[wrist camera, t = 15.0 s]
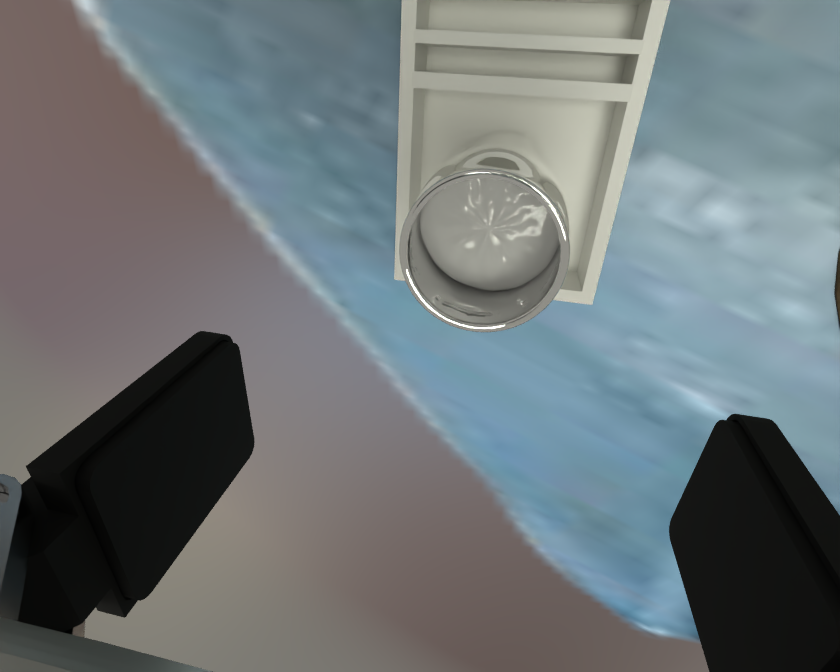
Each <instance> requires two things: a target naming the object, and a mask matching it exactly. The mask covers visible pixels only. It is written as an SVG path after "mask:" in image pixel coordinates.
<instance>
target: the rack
mask: <svg viewBox="0 0 840 672" xmlns="http://www.w3.org/2000/svg"><path fill="white" fill-rule="evenodd" d="M669 3H670V0H402V12H401V50H400V87H399V125H398V163H397V200H396V238H395V276H394V280H402V281H405V278H404V276H403V273H402V269H401V264H400V256H399V244H400V236H401V231H402V228H403V225H404V222H405V219H406V217H407V215H408V213H409V211H410V209H411V208H412V206H413V205H414V203H415V201H416V200H417V198H418V196H419V194H420V192H421V191H422V189H423V187H424V186H425V185H426V183H427V182H428V181H429V179H430V178H431V177H432V175H433V174H434V173H435V172H436V171H437V170H438V169H439V168H440V167H441V166H442V165H444V164H445V163H446V162H447V161H449V160H450V159H451V158H453V157H454V156H456V155H457V154H459V153H461V152H463V151H465V150H467V149H468V148H469V147H470V146H471V145H472V144H473V143H474V142H476V141H477V140H479V139H480V138H482V137H484V136H486V135H489V134H492V133H497V132H511V133H516V134H519V135H522V136H524V137H526V138H528V139H529V140H531V141H532V142H533V143H534V144H535V145H536V146H537V147H538V148H539V149H540V151H541V152H542V154H543V155H544V157H545V159H546V162H547V165H548V168H549V169H550V171H551V172H552V173H553V175H554V176H555V178H556V180H557V181H558V183H559V186H560V188H561V190H562V192H563V195H564V198H565V201H566V205H567V210H568V216H569V226H570V232H569V242H570V260H569V266H568V270H567V274H566V277H565V279H564V282H563V284H562V286H561V288H560V290H559V292H558V293H557V295H556V296H555V298H554V299H553V300H558V301H566V302H573V303H581V304H589V305H592V304H593V300H594V296H595V292H596V288H597V284H598V280H599V276H600V272H601V269H602V265H603V261H604V257H605V253H606V249H607V245H608V241H609V237H610V233H611V229H612V226H613V222H614V218H615V214H616V210H617V206H618V202H619V198H620V194H621V190H622V187H623V183H624V179H625V175H626V171H627V167H628V163H629V159H630V155H631V151H632V148H633V144H634V140H635V136H636V132H637V128H638V124H639V120H640V116H641V112H642V109H643V105H644V101H645V97H646V93H647V89H648V85H649V81H650V77H651V73H652V70H653V66H654V62H655V58H656V54H657V50H658V46H659V42H660V38H661V34H662V31H663V27H664V23H665V19H666V15H667V11H668V7H669Z"/></svg>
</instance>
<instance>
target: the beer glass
mask: <svg viewBox="0 0 840 672" xmlns="http://www.w3.org/2000/svg"><path fill="white" fill-rule="evenodd" d="M569 232H570V226H569V216H568V210H567V205H566V201H565V198H564V195H563V192H562V190H561V188H560V186H559V183H558V181H557V180H556V178H555V176H554V175H553V173H552V172H551V171H550V169H549V168H548V165H547V162H546V159H545V157H544V155H543V154H542V152H541V151H540V149H539V148H538V147H537V146H536V145H535V144H534V143H533V142H532V141H531V140H529V139H528V138H526V137H524V136H522V135H519V134H516V133H511V132H497V133H492V134H489V135H486V136H484V137H482V138H480V139H479V140H477V141H476V142H474V143H473V144H472V145H471V146H470V147H469V148H468V149H467V150H465V151H463V152H461V153H459V154H457V155H456V156H454V157H453V158H451V159H450V160H449V161H447V162H446V163H445V164H444V165H442V166H441V167H440V168H439V169H438V170H437V171H436V172H435V173H434V174H433V175H432V177H431V178H430V179H429V181H428V182H427V183H426V185H425V186H424V187H423V189H422V191H421V192H420V194H419V196H418V198H417V200H416V201H415V203H414V205H413V206H412V208H411V209H410V211H409V213H408V215H407V217H406V219H405V222H404V225H403V228H402V231H401V236H400V244H399V256H400V264H401V269H402V273H403V276H404V278H405V281H406V283H407V285H408V287H409V289H410V291H411V292H412V294H413V295H414V297H415V298H416V299H417V301H418V302H419V303H420V304H421V305H422V306H423V307H424V308H425V309H426V310H427V311H428V312H429V313H431V314H432V315H433V316H435V317H436V318H438V319H439V320H441V321H443V322H445V323H447V324H449V325H451V326H454V327H457V328H460V329H463V330H468V331H474V332H496V331H502V330H506V329H510V328H513V327H516V326H519V325H521V324H523V323H525V322H527V321H529V320H531V319H532V318H534V317H535V316H537V315H538V314H539V313H540V312H542V311H543V310H544V309H545V308H546V307H547V306H548V305H549V304H550V303H551V301H552V300H553V299H554V298H555V296H556V295H557V293H558V292H559V290H560V288H561V286H562V284H563V282H564V279H565V277H566V274H567V270H568V266H569V260H570V242H569Z"/></svg>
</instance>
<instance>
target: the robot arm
mask: <svg viewBox="0 0 840 672" xmlns="http://www.w3.org/2000/svg"><path fill="white" fill-rule="evenodd" d="M253 448H254V435H253V429H252V423H251V417H250V411H249V405H248V398H247V393H246V386H245V380H244V374H243V368H242V362H241V355H240V350H239V347H238V345H237V344H236V343H233V341H232V339H231V337H230V336H228V335H225V334H218V333H212V332H205V331H200V332H198V333H196V334H195V335H193V336H192V337H191V338H189V339H188V340H187V341H186V342H184V343H183V344H182V345H181V346H179V347H178V348H177V349H175V350H174V351H173V352H172V353H170V354H169V355H168V356H166V357H165V358H164V359H163V360H161V361H160V362H159V363H157V364H156V365H155V366H154V367H152V368H151V369H150V370H149V371H147V372H146V373H145V374H143V375H142V376H141V377H140V378H138V379H137V380H136V381H134V382H133V383H132V384H131V385H130V386H128V387H127V388H125V389H124V390H123V391H122V392H120V393H119V394H118V395H117V396H115V397H114V398H113V399H112V400H110V401H109V402H108V403H106V404H105V405H104V406H102V407H101V408H100V409H99V410H98V411H96V412H95V413H93V414H92V415H91V416H90V417H88V418H87V419H86V420H85V421H83V422H82V423H81V424H80V425H78V426H77V427H76V428H74V429H73V430H72V431H70V432H69V433H68V434H67V435H65V436H64V437H63V438H62V439H60V440H59V441H58V442H57V443H55V444H54V445H53V446H51V447H50V448H49V449H47V450H46V451H45V452H44V453H42V454H41V455H40V456H39V457H37V458H36V459H35V460H33V461H32V462H31V463H30V464H28V465H27V466H26V468H27V470H28V471H29V473H30V476H31V477H30V478H29V479H28V480H27V481H25V482H24V483H23V484H22V485H21V484H20V483H19V482H18V480H17V479H16V478H15V477H11V476H8V475H5V474H0V672H213V671H208V670H205V669H201V668H198V667H194V666H190V665H186V664H183V663H179V662H175V661H171V660H168V659H164V658H160V657H156V656H153V655H149V654H145V653H141V652H137V651H134V650H130V649H126V648H122V647H119V646H115V645H111V644H108V643H104V642H100V641H96V640H92V639H88V638H84V633H85V619H86V618H87V617H88V616H89V615H90V613H91V612H92V611H93V610H94V608H95V607H96V608H97V610H98V611H102V612H105V613H109V614H113V615H117V616H121V617H126V616H127V614H128V613H129V612H130V610H131V609H132V608H133V606H134V605H135V604H136V602H137V601H138V600H143V599H145V598H146V597H147V596H148V595H149V594H150V593H151V592H152V591H153V589H154V588H155V587H156V585H157V584H158V582H159V581H160V580H161V578H162V577H163V576H164V574H165V573H166V572H167V570H168V569H169V568H170V566H171V565H172V563H173V562H174V561H175V559H176V558H177V556H178V555H179V554H180V552H181V551H182V550H183V548H184V547H185V545H186V544H187V543H188V541H189V540H190V539H191V537H192V536H193V534H194V533H195V532H196V530H197V529H198V528H199V526H200V525H201V523H202V522H203V521H204V519H205V518H206V517H207V515H208V514H209V512H210V511H211V510H212V508H213V507H214V506H215V504H216V503H217V502H218V500H219V499H220V497H221V496H222V495H223V493H224V492H225V491H226V489H227V488H228V487H229V485H230V484H231V482H232V481H233V480H234V478H235V477H236V475H237V474H238V473H239V471H240V470H241V468H242V467H243V466H244V465H245V463H246V462H247V460H248V459H249V458H250V456H251V454H252V451H253ZM669 535H670V541H671V544H672V547H673V551H674V554H675V557H676V561H677V564H678V568H679V571H680V574H681V578H682V581H683V584H684V588H685V591H686V594H687V598H688V601H689V604H690V608H691V611H692V615H693V618H694V621H695V625H696V628H697V631H698V635H699V638H700V641H701V645H702V648H703V651H704V655H705V658H706V662H707V665H708V668H709V672H840V515H839V514H838V512H837V511H836V510H835V508H834V507H833V505H832V504H831V502H830V501H829V500H828V498H827V497H826V495H825V494H824V492H823V491H822V489H821V488H820V487H819V485H818V484H817V482H816V481H815V479H814V478H813V477H812V475H811V474H810V472H809V471H808V469H807V468H806V466H805V465H804V464H803V462H802V461H801V459H800V458H799V456H798V455H797V454H796V452H795V451H794V449H793V448H792V446H791V445H790V443H789V442H788V441H787V439H786V438H785V436H784V435H783V433H782V432H781V431H780V429H779V428H778V426H777V425H776V424H775V423H774V422H773V421H772V420H770V419H766V418H759V417H753V416H746V415H740V414H732V415H731V416H729V417H728V418H727V420H719V421H718V422H717V423H716V424H715V426H714V428H713V430H712V433H711V435H710V437H709V439H708V441H707V443H706V445H705V448H704V450H703V452H702V454H701V456H700V458H699V460H698V463H697V465H696V467H695V469H694V471H693V473H692V475H691V478H690V480H689V482H688V484H687V486H686V488H685V490H684V493H683V495H682V497H681V499H680V501H679V503H678V505H677V508H676V510H675V512H674V514H673V516H672V518H671V521H670V526H669Z"/></svg>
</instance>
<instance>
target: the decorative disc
mask: <svg viewBox="0 0 840 672" xmlns="http://www.w3.org/2000/svg"><path fill="white" fill-rule="evenodd" d="M835 299H836V305H837V310H838V316H839V322H840V251H839V256H838V264H837V273H836V283H835Z"/></svg>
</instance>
